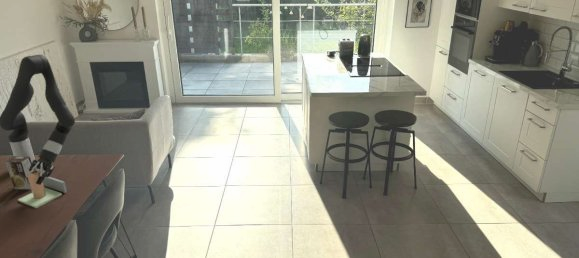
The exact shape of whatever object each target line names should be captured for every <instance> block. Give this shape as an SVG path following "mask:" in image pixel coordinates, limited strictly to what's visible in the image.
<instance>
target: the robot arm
mask: <svg viewBox="0 0 579 258" xmlns="http://www.w3.org/2000/svg"><path fill="white" fill-rule="evenodd" d="M40 74H41V75H42V76H43V79H44V82H45V90H44V91H45V92H44V96H45V99H46V102H47V103H48V106H49V107H50V109H51V111H52V113H54V114H55V117H56V118H57V123H56V125H55V127H54V129H53V131H52V132H51V133H50V136H49V137H48V139H47V141H46V142H45V143H44V145H43V147H42V148H41V151H40V152H39V154H38V158H39V159H37V160H36V158H35V155H34V151H33V147H32V144H31V141H30V136H29V129H28V127H29V126H28V123H27V119H26V117H25V114H24V113H23V110H24V109H25V108H26V107H28V105H29V104H30V103H31V101H32V99H33V97H34V93H35V90H34V86H33V85H32V84H31V81H32V79H33V76H36V75H40ZM75 123H76V120H75V117H74V114H73V113H72V112H71V110H70V109H69V107H68V106H67V104H66V101H65V100H64V98H63V96H62V94H61V92H60V89H59V87H58V84H57V81H56V78H55V74H54V72H53V70H52V66H51V64H50V61H49V59H48V58H47V57H46V56H45V55H44V54H33V55H27V56H24V57H23V58H22V59H21V60H20V63H19V69H18V73H17V76H16V79H15V83H14V85H13V87H12V90H11V92H10V96H9V98H8V100H7V103H6V105H5V108H4V110H3V111H2V112H1V114H0V128H1V129H2V130H3V131H11V133H10V134H9V135H8V138H7V139H8V142H9V144H10V147H11V151H12V154H13V157H14V156H24V157H30V159H31V162H32V164H31V166H30V168H29V171H30V174H31V173H35V172H39V173H40V176H39V178H38V180H37V182H36V184H39V185H41V183H42V182H43V180H44V178H46V177H51V174H52V173H53V171H54V170H55V167H56V165H52V163H55V161H57V158H58V156H59V154H60V152H61V151H62V148H63V146H64V143H65V142H66V140H67V138H68V135H69V133H70V132H71V130H72V128H73V126H74V125H75ZM32 168H33V169H32ZM27 180H28V179H27ZM28 181H29V180H28Z"/></svg>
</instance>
